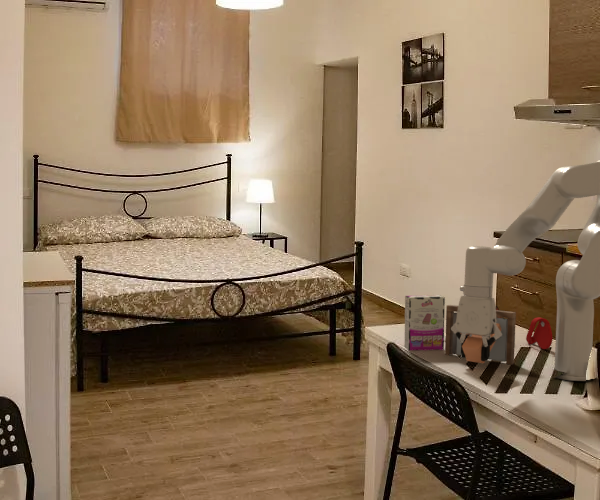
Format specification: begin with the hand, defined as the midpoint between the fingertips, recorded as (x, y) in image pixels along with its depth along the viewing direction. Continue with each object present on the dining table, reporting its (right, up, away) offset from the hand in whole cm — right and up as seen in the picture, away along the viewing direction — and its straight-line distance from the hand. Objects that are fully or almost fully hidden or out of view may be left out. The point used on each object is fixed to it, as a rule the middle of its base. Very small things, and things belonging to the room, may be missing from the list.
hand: (474, 358), depth 228 cm
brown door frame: (+4, -2, +12) cm, 13 cm away
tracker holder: (+25, -1, +30) cm, 39 cm away
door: (+3, -1, +12) cm, 12 cm away
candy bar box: (-10, -1, +25) cm, 27 cm away
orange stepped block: (+3, +3, +4) cm, 6 cm away
